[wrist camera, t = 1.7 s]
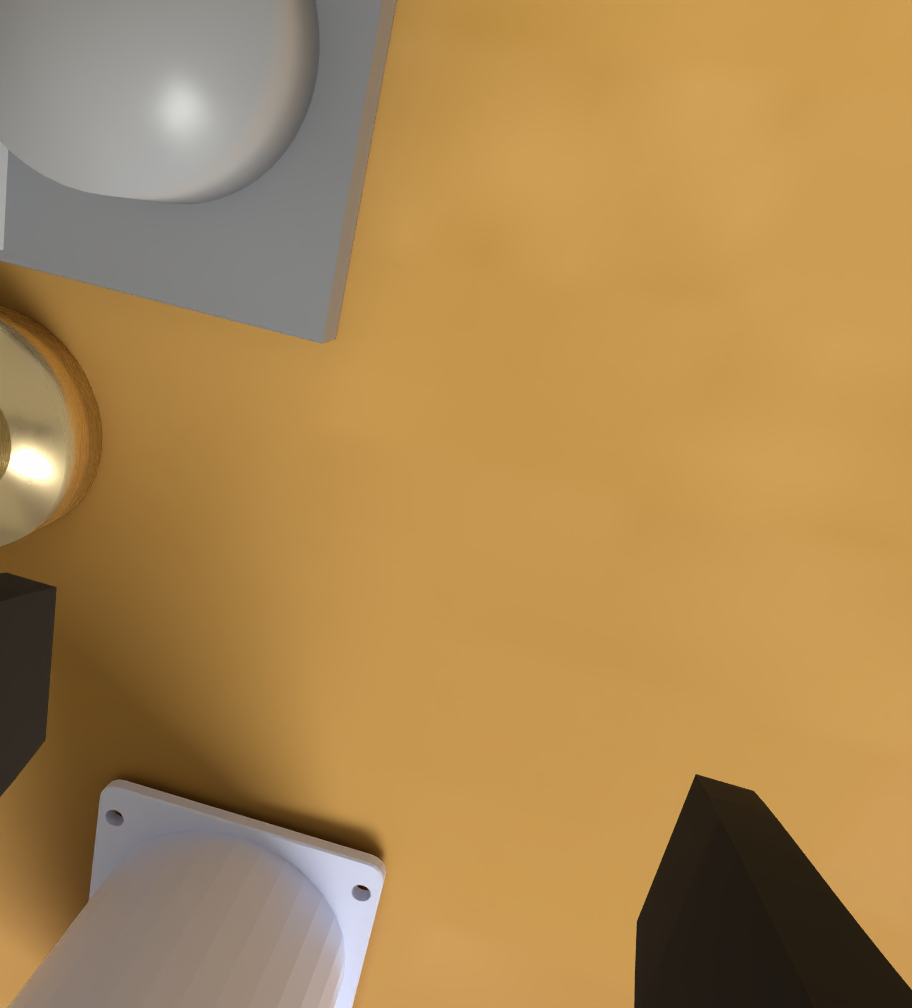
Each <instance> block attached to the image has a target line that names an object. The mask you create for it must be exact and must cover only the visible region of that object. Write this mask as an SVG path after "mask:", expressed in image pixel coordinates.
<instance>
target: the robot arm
mask: <svg viewBox="0 0 912 1008" xmlns="http://www.w3.org/2000/svg"><path fill="white" fill-rule="evenodd" d="M56 588H57V587H53V586H50V585H46V584H43V583H40V582H36V581H33V580H29V579H26V578H23V577H19V576H16V575H12V574H9V573H0V796H1V795H2V794H3V793H4V792H5V790H6V789H7V788H8V787H9V786H10V784H11V783H12V782H13V781H14V780H15V778H16V777H17V776H18V774H19V773H20V772H21V771H22V769H23V768H24V767H25V765H26V764H27V763H28V762H29V760H30V759H31V758H32V756H33V755H34V754H35V753H36V751H37V750H38V749H39V747H40V746H41V745H42V744H43V742H44V741H45V738H46V724H47V711H48V697H49V683H50V670H51V656H52V642H53V629H54V615H55V601H56ZM114 810H116V811H118V812H120V813H121V815H122V816H123V817H121V816H119V815H117V814H116V812H115V811H114ZM385 876H386V868H385V866H384V863H383V862H382V861H381V860H380V859H379V858H378V857H376V856H374V855H372V854H368V853H365V852H362V851H358V850H355V849H352V848H348V847H345V846H342V845H338V844H335V843H332V842H329V841H325V840H322V839H319V838H315V837H312V836H309V835H305V834H302V833H299V832H295V831H292V830H289V829H285V828H282V827H279V826H275V825H272V824H269V823H265V822H262V821H259V820H255V819H252V818H249V817H245V816H242V815H239V814H235V813H232V812H229V811H225V810H222V809H219V808H215V807H212V806H209V805H205V804H202V803H199V802H195V801H192V800H189V799H185V798H182V797H179V796H176V795H172V794H169V793H166V792H162V791H159V790H156V789H152V788H149V787H146V786H142V785H139V784H136V783H132V782H129V781H126V780H119V779H118V780H114V781H112V782H110V783H109V784H108V785H107V786H106V787H105V789H104V790H103V791H102V792H101V795H100V801H99V810H98V819H97V828H96V837H95V847H94V856H93V865H92V874H91V884H90V893H89V901H88V903H87V904H86V905H85V907H84V908H83V909H82V911H81V912H80V913H79V915H78V916H77V917H76V918H75V920H74V921H73V922H72V924H71V925H70V926H69V928H68V929H67V930H66V932H65V933H64V934H63V936H62V937H61V938H60V939H59V941H58V942H57V943H56V945H55V946H54V947H53V949H52V950H51V951H50V953H49V954H48V955H47V956H46V958H45V959H44V960H43V962H42V963H41V964H40V966H39V967H38V968H37V970H36V971H35V972H34V974H33V975H32V976H31V977H30V979H29V980H28V981H27V983H26V984H25V985H24V987H23V988H22V989H21V991H20V992H19V993H18V995H17V996H16V997H15V998H14V1000H13V1001H12V1002H11V1004H10V1005H9V1006H8V1008H352V1006H353V1002H354V998H355V994H356V991H357V987H358V983H359V979H360V975H361V971H362V967H363V963H364V959H365V955H366V951H367V947H368V943H369V939H370V935H371V931H372V927H373V923H374V919H375V915H376V911H377V907H378V903H379V900H380V896H381V892H382V888H383V884H384V880H385ZM357 885H363V886H365V887H367V888H368V889H369V890H362V889H360V888H358V886H357ZM634 1008H912V990H911V988H910V987H909V986H908V985H907V984H906V982H905V981H904V980H903V979H902V978H901V976H900V975H899V974H898V973H897V971H896V970H895V969H894V968H893V967H892V965H891V964H890V963H889V962H888V960H887V959H886V958H885V957H884V955H883V954H882V953H881V952H880V950H879V949H878V948H877V947H876V945H875V944H874V943H873V942H872V940H871V939H870V938H869V937H868V935H867V934H866V933H865V932H864V930H863V929H862V928H861V927H860V925H859V924H858V923H857V921H856V920H855V919H854V918H853V916H852V915H851V914H850V913H849V911H848V910H847V909H846V907H845V906H844V905H843V904H842V902H841V901H840V900H839V898H838V897H837V896H836V895H835V893H834V892H833V891H832V889H831V888H830V887H829V885H828V884H827V883H826V882H825V880H824V879H823V878H822V876H821V875H820V874H819V872H818V871H817V870H816V869H815V867H814V866H813V865H812V863H811V862H810V861H809V859H808V858H807V857H806V856H805V854H804V853H803V852H802V850H801V849H800V848H799V846H798V845H797V844H796V843H795V841H794V840H793V839H792V837H791V836H790V835H789V833H788V832H787V831H786V830H785V828H784V827H783V826H782V824H781V823H780V822H779V821H778V819H777V818H776V817H775V816H774V814H773V813H772V812H771V811H770V809H769V808H768V807H767V806H766V805H765V803H764V802H763V801H762V800H761V799H760V798H759V796H758V795H757V794H756V793H755V792H754V791H752V790H748V789H745V788H741V787H738V786H735V785H731V784H728V783H724V782H721V781H717V780H714V779H711V778H707V777H704V776H700V775H697V774H696V775H695V778H694V780H693V783H692V785H691V788H690V790H689V793H688V795H687V798H686V800H685V803H684V805H683V808H682V810H681V813H680V815H679V818H678V820H677V823H676V825H675V828H674V830H673V833H672V835H671V838H670V840H669V843H668V845H667V848H666V850H665V853H664V855H663V858H662V860H661V863H660V865H659V868H658V870H657V873H656V875H655V878H654V880H653V883H652V885H651V888H650V890H649V893H648V895H647V898H646V900H645V903H644V905H643V908H642V910H641V913H640V915H639V918H638V920H637V934H636V961H635V1003H634Z"/></svg>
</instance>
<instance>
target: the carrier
mask: <svg viewBox="0 0 912 1008" xmlns="http://www.w3.org/2000/svg"><path fill="white" fill-rule="evenodd" d="M396 2H397V0H0V261H2V262H6V263H10V264H14V265H18V266H22V267H26V268H30V269H34V270H38V271H41V272H45V273H49V274H53V275H57V276H61V277H65V278H69V279H73V280H77V281H80V282H84V283H88V284H92V285H96V286H100V287H104V288H108V289H112V290H115V291H119V292H123V293H127V294H131V295H135V296H139V297H143V298H147V299H151V300H154V301H158V302H162V303H166V304H170V305H174V306H178V307H182V308H186V309H190V310H193V311H197V312H201V313H205V314H209V315H213V316H217V317H221V318H225V319H229V320H232V321H236V322H240V323H244V324H248V325H252V326H256V327H260V328H264V329H268V330H271V331H275V332H279V333H283V334H287V335H291V336H295V337H299V338H303V339H306V340H310V341H314V342H318V343H325V342H328V341H331V340H334V339H336V334H337V328H338V323H339V317H340V312H341V306H342V301H343V295H344V290H345V284H346V278H347V273H348V267H349V262H350V256H351V251H352V245H353V240H354V234H355V229H356V223H357V218H358V212H359V206H360V201H361V195H362V190H363V184H364V179H365V173H366V168H367V162H368V157H369V151H370V146H371V140H372V134H373V129H374V123H375V118H376V112H377V107H378V101H379V96H380V90H381V85H382V79H383V74H384V68H385V62H386V57H387V51H388V46H389V40H390V35H391V29H392V24H393V18H394V13H395V7H396Z"/></svg>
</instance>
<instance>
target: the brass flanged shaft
mask: <svg viewBox="0 0 912 1008" xmlns="http://www.w3.org/2000/svg"><path fill="white" fill-rule="evenodd" d="M101 451H102V428H101V419H100V414H99V410H98V405H97V402H96V399H95V396H94V394H93V391H92V388H91V386H90V384H89V382H88V380H87V378H86V376H85V374H84V372H83V371H82V369H81V368H80V366H79V364H78V363H77V361H76V360H75V359H74V357H73V356H72V355H71V353H70V352H69V351H68V350H67V348H66V347H65V346H64V345H63V344H62V343H61V342H60V341H59V340H58V339H57V338H56V337H55V336H54V335H52V334H51V333H50V332H49V331H48V330H46V329H45V328H44V327H43V326H41V325H40V324H38V323H37V322H35V321H33V320H32V319H30V318H29V317H27V316H25V315H22V314H20V313H18V312H16V311H14V310H11V309H8V308H5V307H2V306H0V546H3V545H6V544H9V543H12V542H15V541H17V540H19V539H20V538H22V537H24V536H26V535H28V534H30V533H32V532H34V531H36V530H38V529H40V528H42V527H44V526H46V525H48V524H49V523H51V522H53V521H55V520H57V519H59V518H61V517H62V516H64V515H66V514H67V513H68V512H69V511H71V510H72V509H73V508H74V507H75V506H76V505H77V504H78V503H79V502H80V501H81V500H82V499H83V497H84V496H85V494H86V493H87V492H88V490H89V489H90V487H91V485H92V482H93V480H94V478H95V476H96V473H97V470H98V466H99V463H100V457H101Z"/></svg>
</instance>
